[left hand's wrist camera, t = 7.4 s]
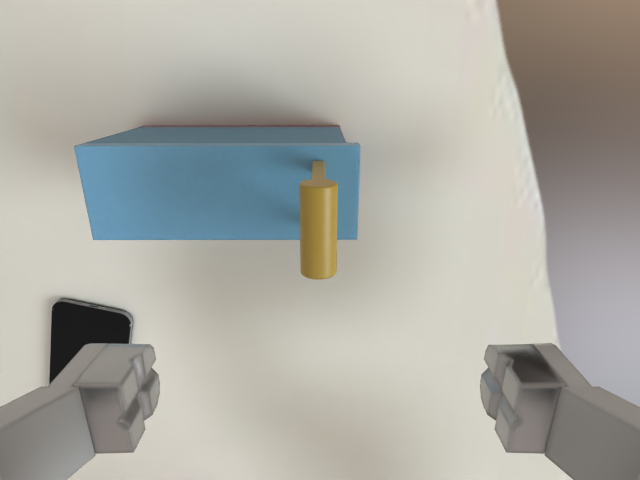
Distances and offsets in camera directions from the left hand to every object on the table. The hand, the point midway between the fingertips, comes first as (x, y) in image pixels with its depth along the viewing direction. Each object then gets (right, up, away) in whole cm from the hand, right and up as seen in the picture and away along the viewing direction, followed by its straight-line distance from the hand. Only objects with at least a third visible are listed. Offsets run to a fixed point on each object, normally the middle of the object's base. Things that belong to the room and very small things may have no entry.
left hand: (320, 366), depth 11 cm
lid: (-6, +6, +16) cm, 18 cm away
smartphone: (-23, -10, +32) cm, 41 cm away
